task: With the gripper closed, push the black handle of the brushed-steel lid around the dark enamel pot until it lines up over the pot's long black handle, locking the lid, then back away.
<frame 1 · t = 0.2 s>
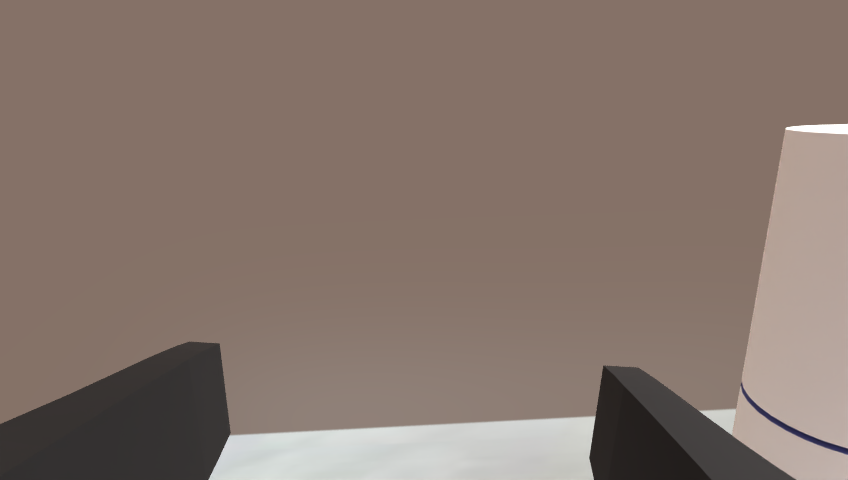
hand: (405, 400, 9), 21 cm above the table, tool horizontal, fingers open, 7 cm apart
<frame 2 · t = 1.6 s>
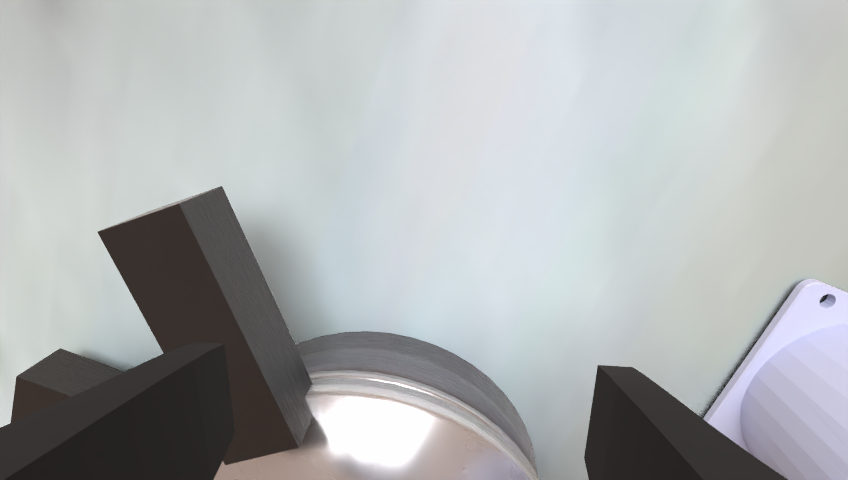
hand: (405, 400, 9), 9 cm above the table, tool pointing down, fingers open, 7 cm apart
pot: (375, 472, 21), on the table
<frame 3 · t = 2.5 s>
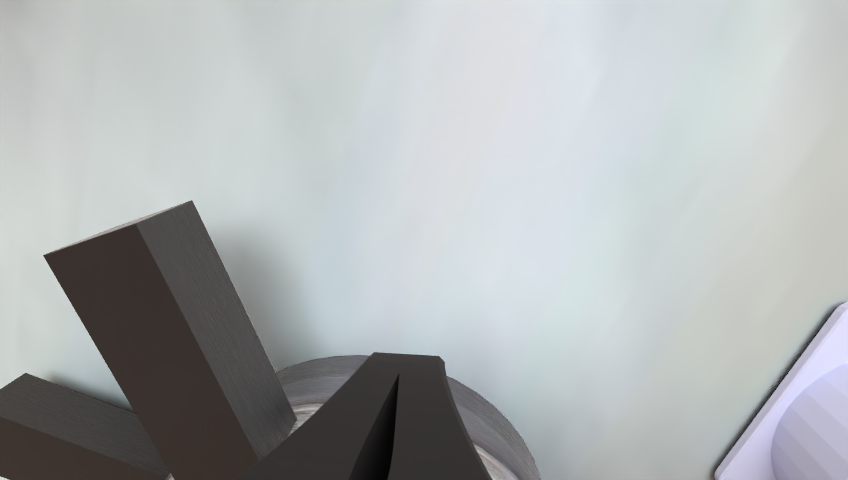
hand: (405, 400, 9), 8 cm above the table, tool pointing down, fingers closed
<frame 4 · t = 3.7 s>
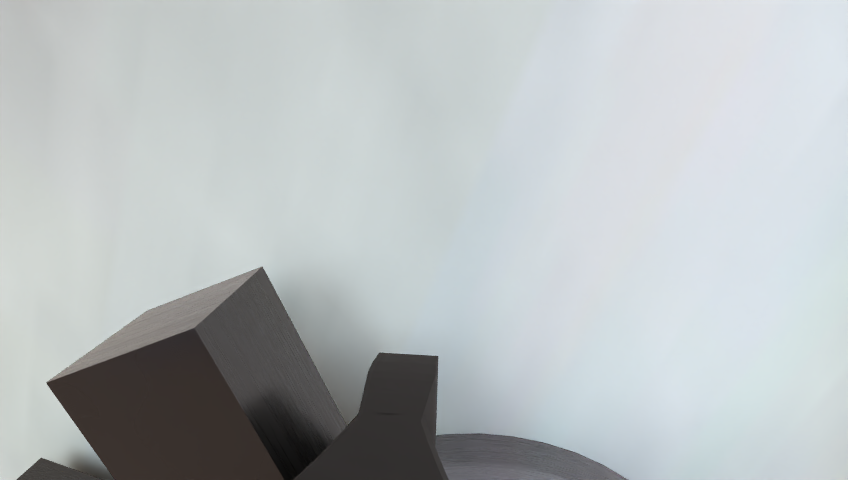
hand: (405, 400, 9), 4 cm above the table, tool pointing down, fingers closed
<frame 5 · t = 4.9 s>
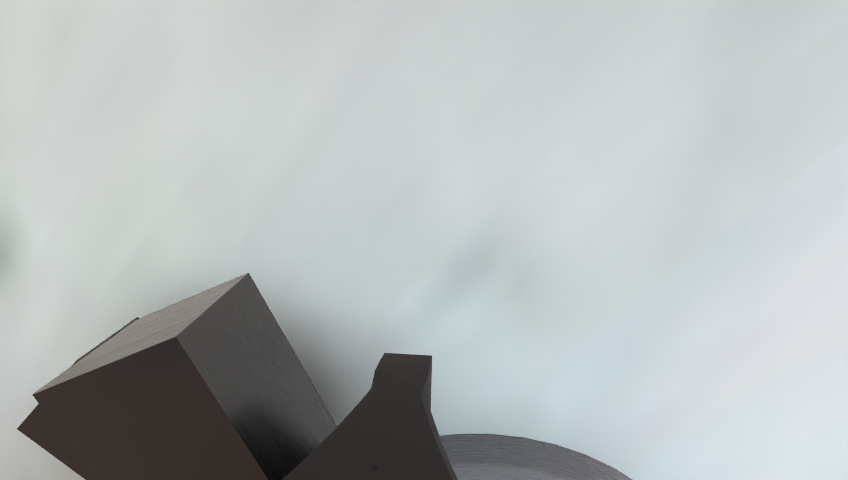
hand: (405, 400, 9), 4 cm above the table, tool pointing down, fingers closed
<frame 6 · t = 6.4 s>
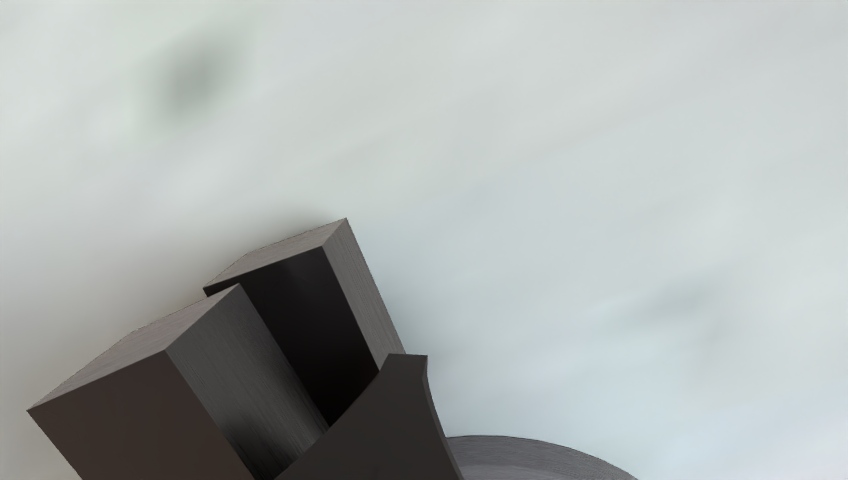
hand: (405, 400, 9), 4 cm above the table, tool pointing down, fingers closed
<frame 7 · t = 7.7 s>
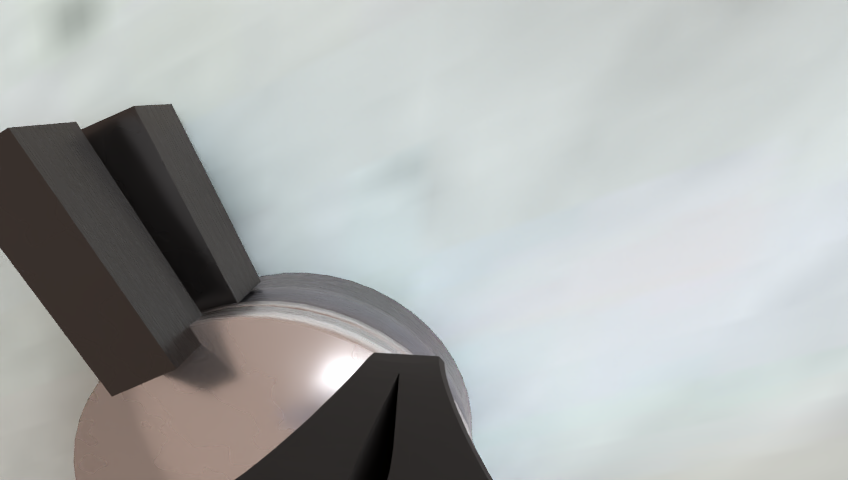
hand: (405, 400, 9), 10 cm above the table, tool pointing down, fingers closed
lid: (220, 437, 16), point 5 cm above the table, hinge at 5.0°
pot: (313, 419, 21), on the table
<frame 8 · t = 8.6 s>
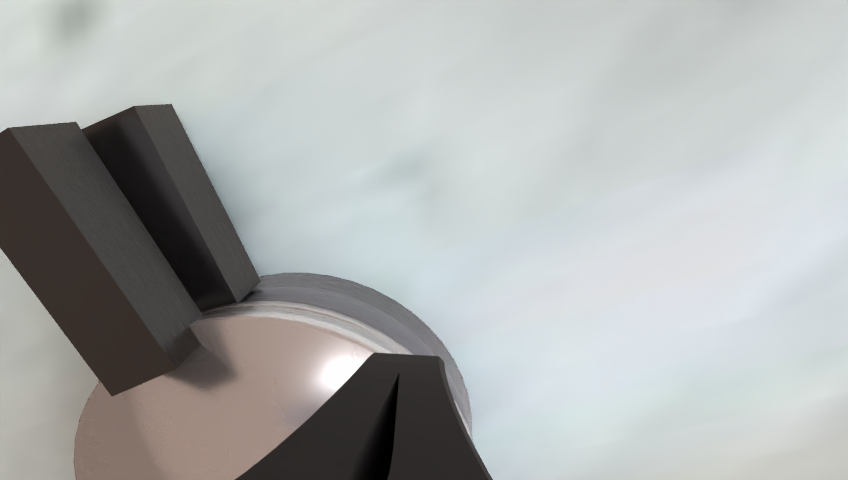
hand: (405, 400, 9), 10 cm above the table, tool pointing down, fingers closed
lid: (220, 437, 16), point 5 cm above the table, hinge at 5.0°
pot: (313, 419, 21), on the table
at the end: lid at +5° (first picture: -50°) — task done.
